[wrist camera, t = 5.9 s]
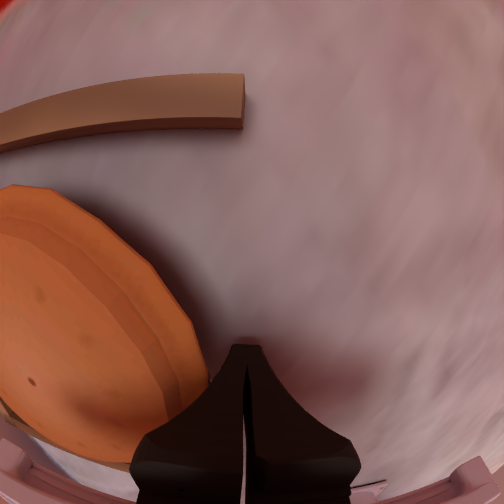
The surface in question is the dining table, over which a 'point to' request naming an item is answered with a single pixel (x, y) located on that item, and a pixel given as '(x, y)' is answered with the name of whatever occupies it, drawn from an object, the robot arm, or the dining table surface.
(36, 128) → the serving rack
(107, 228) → the pie
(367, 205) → the dining table surface
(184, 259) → the dining table surface
